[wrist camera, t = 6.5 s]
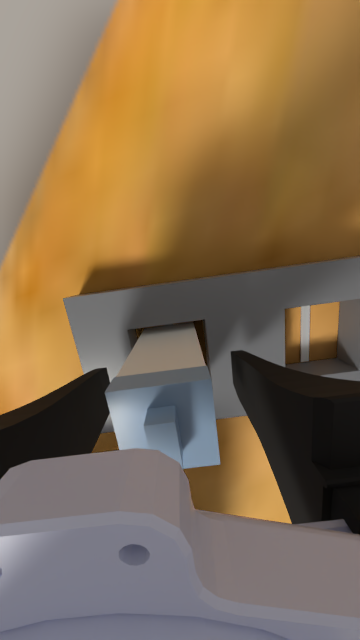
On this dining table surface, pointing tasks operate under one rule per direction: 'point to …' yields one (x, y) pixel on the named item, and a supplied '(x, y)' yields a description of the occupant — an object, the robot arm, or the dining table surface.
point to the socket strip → (225, 320)
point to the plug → (166, 397)
